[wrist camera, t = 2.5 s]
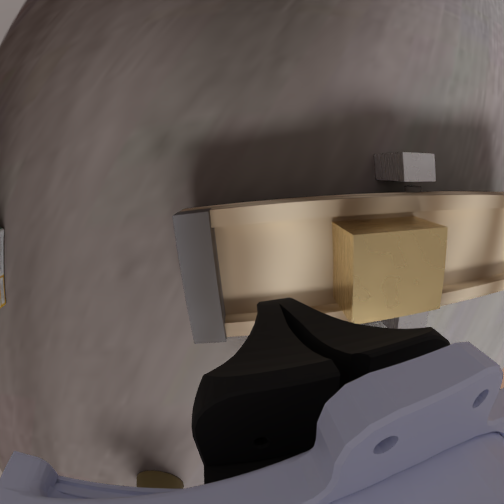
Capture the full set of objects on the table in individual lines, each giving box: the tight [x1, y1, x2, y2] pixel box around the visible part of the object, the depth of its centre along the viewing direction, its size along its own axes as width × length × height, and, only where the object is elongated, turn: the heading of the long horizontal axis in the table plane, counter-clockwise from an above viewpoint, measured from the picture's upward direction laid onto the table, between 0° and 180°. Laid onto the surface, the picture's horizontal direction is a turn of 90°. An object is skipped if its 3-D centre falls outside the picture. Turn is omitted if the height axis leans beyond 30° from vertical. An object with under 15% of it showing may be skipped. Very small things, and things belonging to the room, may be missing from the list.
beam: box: [172, 186, 504, 344], centre depth 19 cm, size 31×9×4 cm, turn 95°
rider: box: [332, 216, 448, 324], centre depth 17 cm, size 6×5×4 cm
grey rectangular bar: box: [374, 152, 436, 329], centre depth 21 cm, size 3×14×4 cm, turn 5°
